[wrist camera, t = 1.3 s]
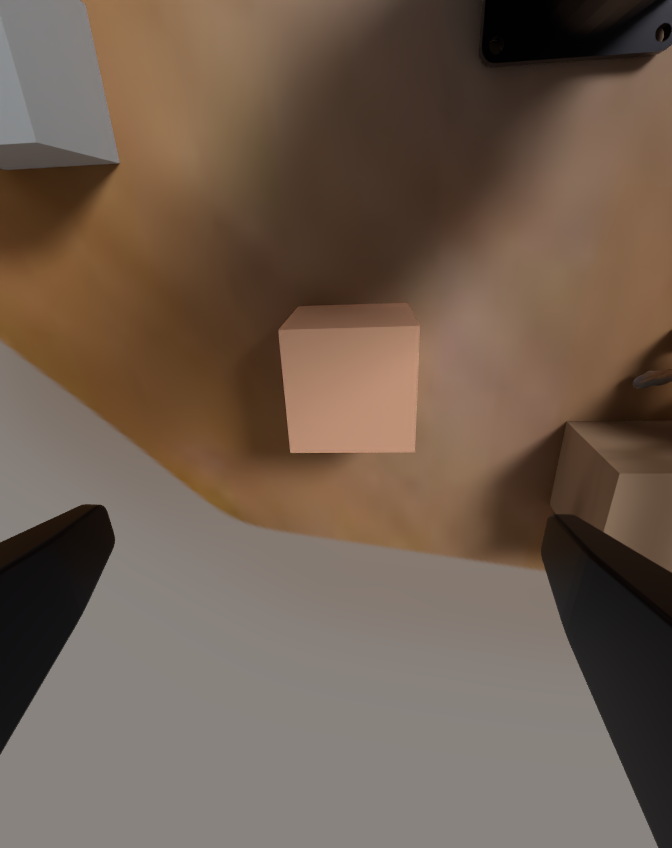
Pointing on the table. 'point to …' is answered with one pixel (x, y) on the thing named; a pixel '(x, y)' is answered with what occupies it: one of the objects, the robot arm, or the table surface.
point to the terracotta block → (351, 377)
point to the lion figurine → (653, 378)
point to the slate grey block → (51, 88)
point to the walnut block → (619, 482)
